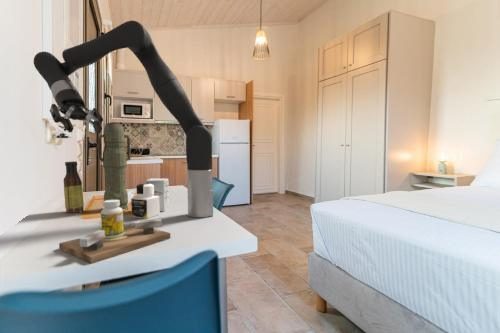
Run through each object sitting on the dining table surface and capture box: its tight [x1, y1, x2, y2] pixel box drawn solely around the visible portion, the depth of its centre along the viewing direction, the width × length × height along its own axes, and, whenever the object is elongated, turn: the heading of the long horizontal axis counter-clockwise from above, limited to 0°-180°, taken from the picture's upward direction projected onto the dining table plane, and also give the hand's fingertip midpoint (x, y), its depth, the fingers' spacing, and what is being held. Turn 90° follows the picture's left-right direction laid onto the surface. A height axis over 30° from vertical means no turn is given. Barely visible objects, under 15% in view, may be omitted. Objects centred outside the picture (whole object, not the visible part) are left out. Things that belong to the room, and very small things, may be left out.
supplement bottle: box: [100, 200, 124, 238], centre depth 80 cm, size 5×5×10 cm
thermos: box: [97, 122, 132, 210], centre depth 120 cm, size 9×12×35 cm
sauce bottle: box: [63, 161, 85, 214], centre depth 116 cm, size 6×6×20 cm
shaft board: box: [58, 218, 171, 264], centre depth 79 cm, size 16×23×5 cm
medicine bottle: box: [130, 183, 161, 220], centre depth 109 cm, size 7×7×12 cm
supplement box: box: [145, 178, 170, 213], centre depth 120 cm, size 7×7×13 cm
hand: (86, 130), depth 92 cm, fingers open, 8 cm apart
